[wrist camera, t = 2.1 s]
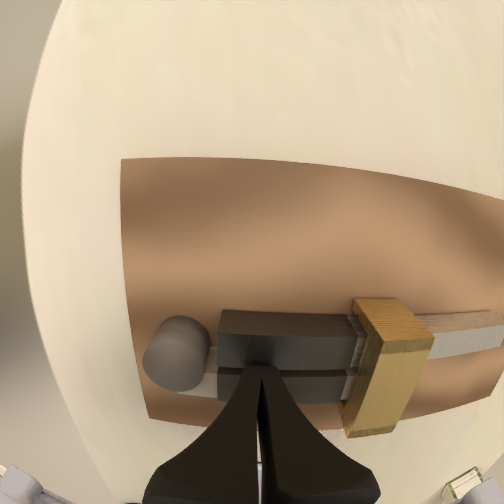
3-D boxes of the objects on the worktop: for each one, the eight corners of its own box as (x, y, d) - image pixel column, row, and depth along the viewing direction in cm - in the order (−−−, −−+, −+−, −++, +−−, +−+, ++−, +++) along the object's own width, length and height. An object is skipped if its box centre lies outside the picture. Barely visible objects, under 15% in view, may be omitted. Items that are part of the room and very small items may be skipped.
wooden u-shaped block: (371, 385, 15) (392, 432, 11) (332, 388, 15) (347, 438, 11) (397, 298, 13) (435, 337, 9) (354, 298, 13) (383, 341, 9)
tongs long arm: (482, 332, 14) (499, 348, 12) (222, 341, 14) (217, 366, 12) (491, 308, 13) (510, 322, 11) (222, 309, 13) (216, 332, 11)
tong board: (483, 388, 17) (503, 412, 13) (153, 406, 17) (138, 445, 14) (540, 213, 13) (573, 223, 9) (131, 159, 13) (92, 158, 9)
